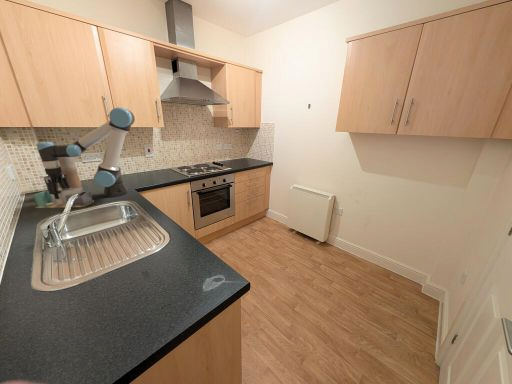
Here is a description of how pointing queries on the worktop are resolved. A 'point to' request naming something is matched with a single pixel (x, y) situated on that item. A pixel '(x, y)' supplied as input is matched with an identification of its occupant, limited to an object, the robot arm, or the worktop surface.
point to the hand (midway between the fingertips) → (63, 201)
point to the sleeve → (81, 199)
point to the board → (51, 205)
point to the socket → (42, 198)
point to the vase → (70, 171)
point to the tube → (67, 191)
